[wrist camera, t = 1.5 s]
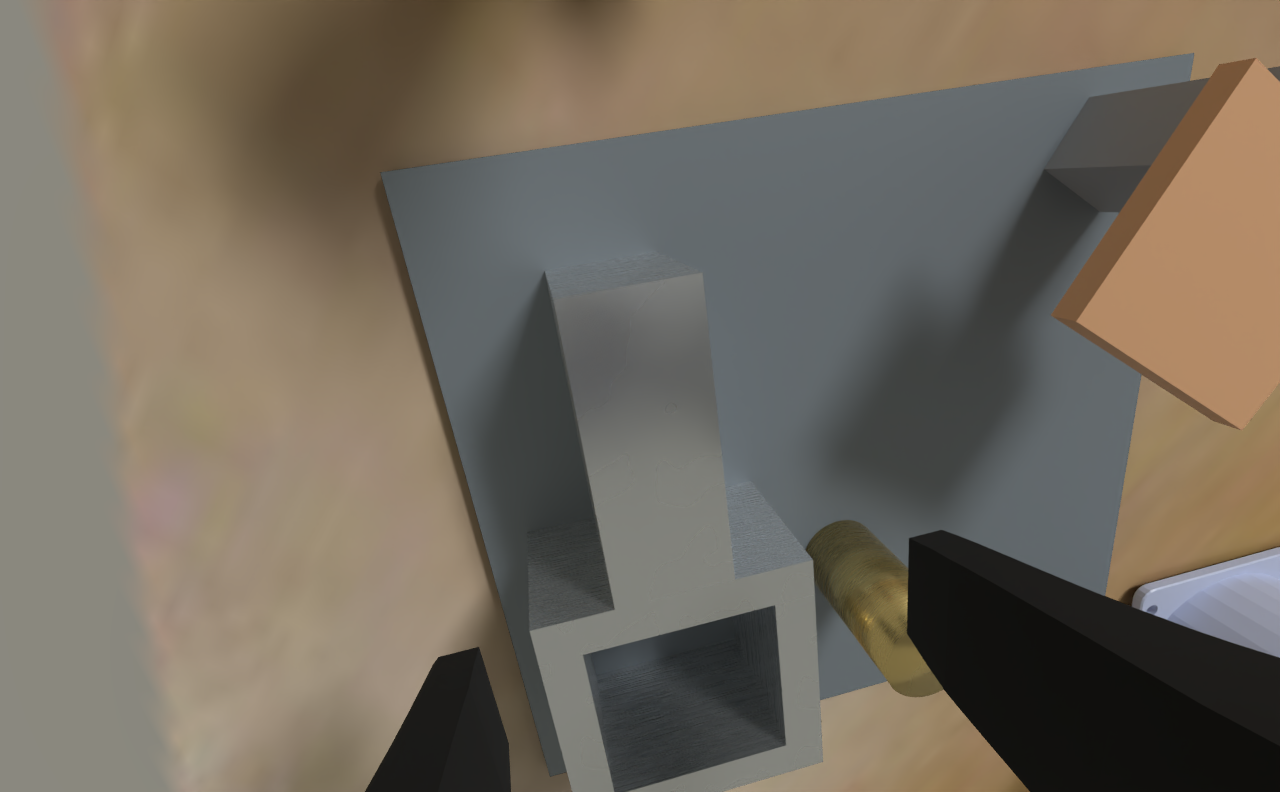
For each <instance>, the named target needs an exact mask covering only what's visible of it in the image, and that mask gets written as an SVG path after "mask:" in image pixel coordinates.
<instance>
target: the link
mask: <svg viewBox="0 0 1280 792" xmlns="http://www.w3.org/2000/svg"><path fill="white" fill-rule="evenodd" d="M545 275H546V280H547V285H548V290H549V295H550V300H551V305H552V310H553V315H554V320H555V325H556V330H557V335H558V340H559V345H560V350H561V355H562V360H563V365H564V370H565V375H566V380H567V385H568V390H569V395H570V400H571V405H572V410H573V415H574V420H575V425H576V430H577V435H578V440H579V445H580V450H581V455H582V460H583V465H584V470H585V475H586V480H587V485H588V490H589V495H590V500H591V505H592V510H593V515H594V517H592V518H588V519H584V520H579V521H575V522H571V523H566V524H562V525H557V526H553V527H549V528H544V529H540V530H536V531H531V532H527V542H528V585H529V629H530V635H531V639H532V642H533V646H534V650H535V654H536V657H537V661H538V665H539V669H540V672H541V676H542V680H543V684H544V687H545V691H546V695H547V699H548V703H549V706H550V710H551V714H552V718H553V721H554V725H555V729H556V733H557V736H558V740H559V744H560V748H561V751H562V755H563V759H564V763H565V767H566V770H567V774H568V778H569V782H570V785H571V789H572V792H723V791H726V790H730V789H733V788H736V787H740V786H743V785H747V784H750V783H753V782H757V781H760V780H763V779H767V778H770V777H773V776H777V775H780V774H783V773H787V772H790V771H794V770H797V769H800V768H804V767H807V766H810V765H814V764H817V763H820V762H823V752H822V732H821V711H820V691H819V670H818V650H817V630H816V609H815V589H814V568H813V559H812V558H811V557H810V555H809V554H808V553H807V552H806V550H805V549H804V548H803V547H802V545H801V544H800V543H799V542H798V540H797V539H796V538H795V537H794V535H793V534H792V533H791V531H790V530H789V529H788V528H787V526H786V525H785V524H784V523H783V521H782V520H781V519H780V518H779V516H778V515H777V514H776V512H775V511H774V510H773V509H772V507H771V506H770V505H769V504H768V502H767V501H766V500H765V499H764V497H763V496H762V495H761V494H760V492H759V491H758V490H757V488H756V487H755V486H754V485H753V483H752V482H751V481H749V482H745V483H741V484H736V485H732V486H728V487H725V480H724V470H723V461H722V451H721V442H720V433H719V423H718V414H717V404H716V395H715V386H714V376H713V367H712V357H711V348H710V339H709V329H708V320H707V310H706V301H705V291H704V282H703V273H702V272H700V271H698V270H696V269H693V268H691V267H689V266H687V265H685V264H683V263H680V262H678V261H676V260H674V259H672V258H669V257H667V256H665V255H663V254H661V253H659V252H651V253H645V254H639V255H634V256H628V257H622V258H616V259H611V260H605V261H599V262H593V263H587V264H582V265H576V266H570V267H564V268H559V269H553V270H547V271H545ZM731 616H732V617H733V626H734V635H735V639H731V640H727V641H723V642H719V643H716V644H712V645H708V646H704V647H701V648H697V649H693V650H689V651H685V652H682V653H678V654H674V655H670V656H666V657H663V658H659V659H655V660H651V661H648V662H644V663H640V664H636V665H632V666H629V667H625V668H621V669H617V670H613V671H610V672H606V673H602V674H598V675H596V672H595V668H594V663H593V659H592V654H591V653H592V652H596V651H600V650H604V649H608V648H612V647H615V646H619V645H623V644H627V643H631V642H635V641H639V640H643V639H646V638H650V637H654V636H658V635H662V634H666V633H670V632H673V631H677V630H681V629H685V628H689V627H693V626H697V625H700V624H704V623H708V622H712V621H716V620H720V619H724V618H727V617H731Z"/></svg>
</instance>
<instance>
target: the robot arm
mask: <svg viewBox="0 0 1280 792" xmlns="http://www.w3.org/2000/svg"><path fill="white" fill-rule="evenodd" d="M907 635H908V636H909V638H910V639H911V641H912V642H913V644H914V645H915V647H916V649H917V650H918V652H919V653H920V655H921V656H922V658H923V659H924V661H925V663H926V664H927V666H928V667H929V668H930V670H931V671H932V673H933V674H934V676H935V677H936V679H937V680H938V682H939V683H940V684H941V686H942V687H943V689H944V690H945V691H946V693H947V694H948V695H949V696H950V697H951V699H952V700H953V701H954V702H955V704H956V705H957V706H958V707H959V708H960V710H961V711H962V712H963V713H964V714H965V716H966V717H967V718H968V719H969V720H970V721H971V723H972V724H973V725H974V726H975V727H976V729H977V730H978V731H979V732H980V733H981V735H982V736H983V737H984V738H985V739H986V740H987V742H988V743H989V744H990V745H991V746H992V747H993V749H994V750H995V751H996V752H997V753H998V755H999V756H1000V757H1001V758H1002V759H1003V760H1004V762H1005V763H1006V764H1007V765H1008V766H1009V767H1010V769H1011V770H1012V771H1013V772H1014V773H1015V774H1016V776H1017V777H1018V778H1019V779H1020V780H1021V781H1022V783H1023V784H1024V785H1025V786H1026V787H1027V788H1028V790H1029V791H1030V792H1280V547H1277V548H1274V549H1270V550H1266V551H1263V552H1259V553H1256V554H1252V555H1248V556H1245V557H1241V558H1238V559H1234V560H1230V561H1227V562H1223V563H1220V564H1216V565H1212V566H1209V567H1205V568H1202V569H1198V570H1194V571H1191V572H1187V573H1184V574H1180V575H1176V576H1173V577H1169V578H1166V579H1162V580H1158V581H1155V582H1151V583H1148V584H1144V585H1142V586H1141V587H1139V588H1138V589H1137V590H1136V592H1135V593H1134V596H1133V601H1132V607H1131V606H1129V605H1126V604H1124V603H1121V602H1119V601H1116V600H1113V599H1111V598H1108V597H1106V596H1103V595H1101V594H1098V593H1096V592H1093V591H1091V590H1088V589H1086V588H1083V587H1081V586H1078V585H1076V584H1074V583H1071V582H1069V581H1066V580H1064V579H1061V578H1059V577H1057V576H1054V575H1052V574H1049V573H1047V572H1045V571H1042V570H1040V569H1038V568H1035V567H1033V566H1030V565H1028V564H1026V563H1023V562H1021V561H1019V560H1016V559H1014V558H1011V557H1009V556H1007V555H1004V554H1002V553H1000V552H997V551H995V550H992V549H990V548H988V547H985V546H983V545H980V544H978V543H975V542H973V541H971V540H968V539H965V538H963V537H960V536H958V535H955V534H952V533H949V532H947V531H944V530H939V531H935V532H931V533H927V534H923V535H919V536H915V537H911V538H909V556H908V604H907ZM365 792H511V782H510V761H509V743H508V740H507V737H506V734H505V730H504V727H503V724H502V721H501V717H500V714H499V711H498V708H497V704H496V701H495V698H494V695H493V691H492V688H491V685H490V682H489V678H488V675H487V672H486V669H485V665H484V662H483V659H482V656H481V652H480V649H479V647H477V648H473V649H469V650H465V651H461V652H457V653H453V654H449V655H445V656H441V657H438V659H437V660H436V661H435V663H434V664H433V666H432V668H431V670H430V672H429V674H428V676H427V678H426V680H425V682H424V684H423V686H422V688H421V689H420V691H419V693H418V695H417V697H416V699H415V701H414V703H413V705H412V707H411V709H410V711H409V713H408V715H407V717H406V718H405V720H404V722H403V724H402V726H401V728H400V730H399V732H398V733H397V735H396V737H395V739H394V741H393V743H392V745H391V746H390V748H389V750H388V752H387V754H386V755H385V757H384V759H383V761H382V762H381V764H380V766H379V768H378V770H377V771H376V773H375V775H374V777H373V778H372V780H371V782H370V784H369V785H368V787H367V789H366V791H365Z"/></svg>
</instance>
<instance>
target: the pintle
mask: <svg viewBox="0 0 1280 792" xmlns="http://www.w3.org/2000/svg"><path fill="white" fill-rule="evenodd" d="M806 552H807V553H808V554H809V555H810V557H811V558H812V559H813V568H814V583H815V585H816V586H817V587H818V589H819V590H820V591H821V593H822V594H823V595H824V597H825V598H826V599H827V601H828V602H829V603H830V605H831V606H832V607H833V609H834V610H835V611H836V613H837V614H838V615H839V617H840V618H841V619H842V621H843V622H844V623H845V625H846V626H847V627H848V629H849V630H850V631H851V633H852V634H853V635H854V637H855V638H856V639H857V641H858V642H859V643H860V645H861V646H862V647H863V649H864V650H865V652H866V653H867V654H868V656H869V657H870V658H871V660H872V661H873V662H874V664H875V665H876V666H877V668H878V669H879V670H880V672H881V673H882V674H883V676H884V677H885V678H886V680H887V681H888V682H889V684H890V685H891V686H892V688H893V689H894V690H895V691H897V692H898V693H900V694H902V695H905V696H908V697H923V696H928V695H932V694H935V693H937V692H939V691H941V690H943V687H942V686H941V684H940V683H939V682H938V680H937V679H936V677H935V676H934V674H933V673H932V671H931V670H930V668H929V667H928V666H927V664H926V663H925V661H924V659H923V658H922V656H921V655H920V653H919V652H918V650H917V649H916V647H915V645H914V644H913V642H912V641H911V639H910V638H909V636H908V635H907V604H908V567H907V566H906V565H905V564H904V563H902V562H901V561H900V560H899V559H898V558H897V557H896V556H895V555H894V554H893V553H892V552H891V551H890V550H889V549H888V548H887V547H886V546H885V545H884V544H883V543H882V542H881V541H880V540H879V539H878V538H877V537H876V536H875V535H874V534H873V533H872V532H871V531H870V530H869V529H868V528H867V527H865V526H864V525H863V524H861V523H859V522H856V521H852V520H841V521H837V522H833V523H831V524H829V525H827V526H825V527H824V528H822V529H821V530H819V531H818V532H817V533H816V534H815V535H814V536H813V537H812V539H811V540H810V542H809V543H808V545H807V547H806Z"/></svg>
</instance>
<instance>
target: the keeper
mask: <svg viewBox="0 0 1280 792" xmlns="http://www.w3.org/2000/svg"><path fill="white" fill-rule="evenodd" d="M1044 170H1046V171H1047V172H1048V173H1050V174H1051V175H1052V176H1054V177H1055V178H1056V179H1057V180H1059V181H1060V182H1061V183H1063V184H1064V185H1065V186H1067V187H1068V188H1069V189H1071V190H1072V191H1073V192H1075V193H1076V194H1077V195H1078V196H1080V197H1081V198H1082V199H1084V200H1085V201H1086V202H1088V203H1089V204H1090V205H1092V206H1093V207H1094V208H1096V209H1097V210H1098V211H1100V212H1117V213H1119V214H1118V216H1117V217H1116V219H1115V220H1114V222H1113V223H1112V225H1111V226H1110V228H1109V229H1108V231H1107V232H1106V234H1105V235H1104V237H1103V238H1102V240H1101V241H1100V243H1099V244H1098V246H1097V247H1096V248H1095V250H1094V251H1093V253H1092V254H1091V256H1090V257H1089V259H1088V260H1087V262H1086V263H1085V265H1084V266H1083V268H1082V269H1081V271H1080V272H1079V274H1078V275H1077V277H1076V278H1075V280H1074V281H1073V283H1072V284H1071V286H1070V287H1069V289H1068V290H1067V292H1066V293H1065V295H1064V296H1063V298H1062V299H1061V301H1060V302H1059V304H1058V305H1057V307H1056V308H1055V310H1054V311H1053V313H1052V314H1051V316H1052V317H1054V318H1055V319H1057V320H1058V321H1060V322H1062V323H1063V324H1065V325H1066V326H1068V327H1069V328H1071V329H1072V330H1074V331H1075V332H1077V333H1079V334H1080V335H1082V336H1083V337H1085V338H1086V339H1088V340H1089V341H1091V342H1092V343H1094V344H1095V345H1097V346H1099V347H1100V348H1102V349H1103V350H1105V351H1106V352H1108V353H1109V354H1111V355H1112V356H1114V357H1116V358H1117V359H1119V360H1120V361H1122V362H1123V363H1125V364H1126V365H1128V366H1129V367H1131V368H1133V369H1134V370H1136V371H1137V372H1139V373H1140V374H1142V375H1143V376H1145V377H1146V378H1148V379H1149V380H1151V381H1153V382H1154V383H1156V384H1157V385H1159V386H1160V387H1162V388H1163V389H1165V390H1166V391H1168V392H1170V393H1171V394H1173V395H1174V396H1176V397H1177V398H1179V399H1180V400H1182V401H1183V402H1185V403H1187V404H1188V405H1190V406H1191V407H1193V408H1194V409H1196V410H1197V411H1199V412H1200V413H1202V414H1203V415H1205V416H1207V417H1208V418H1210V419H1211V420H1213V421H1215V422H1218V423H1221V424H1224V425H1227V426H1230V427H1233V428H1236V429H1239V430H1243V428H1244V427H1245V426H1246V425H1247V423H1248V422H1249V421H1250V419H1251V418H1252V417H1253V416H1254V414H1255V413H1256V412H1257V411H1258V409H1259V408H1260V407H1261V405H1262V404H1263V403H1264V402H1265V400H1266V399H1267V398H1268V397H1269V395H1270V394H1271V393H1272V391H1273V390H1274V389H1275V388H1276V386H1277V385H1278V384H1279V382H1280V67H1274V68H1268V69H1267V68H1266V67H1265V66H1264V65H1263V64H1262V63H1261V62H1260V61H1259V60H1258V59H1257V58H1253V59H1248V60H1242V61H1236V62H1231V63H1225V64H1219V65H1218V67H1217V68H1216V70H1215V71H1214V73H1213V74H1212V76H1211V77H1210V78H1205V79H1199V80H1193V81H1187V82H1180V83H1174V84H1168V85H1162V86H1156V87H1149V88H1143V89H1137V90H1131V91H1124V92H1118V93H1112V94H1106V95H1100V96H1093V97H1089V99H1088V100H1087V102H1086V103H1085V105H1084V107H1083V108H1082V110H1081V111H1080V113H1079V114H1078V116H1077V118H1076V119H1075V121H1074V122H1073V124H1072V125H1071V127H1070V129H1069V130H1068V132H1067V133H1066V135H1065V137H1064V138H1063V140H1062V141H1061V143H1060V144H1059V146H1058V148H1057V149H1056V151H1055V152H1054V154H1053V156H1052V157H1051V159H1050V160H1049V162H1048V163H1047V165H1046V167H1045V168H1044Z"/></svg>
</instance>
